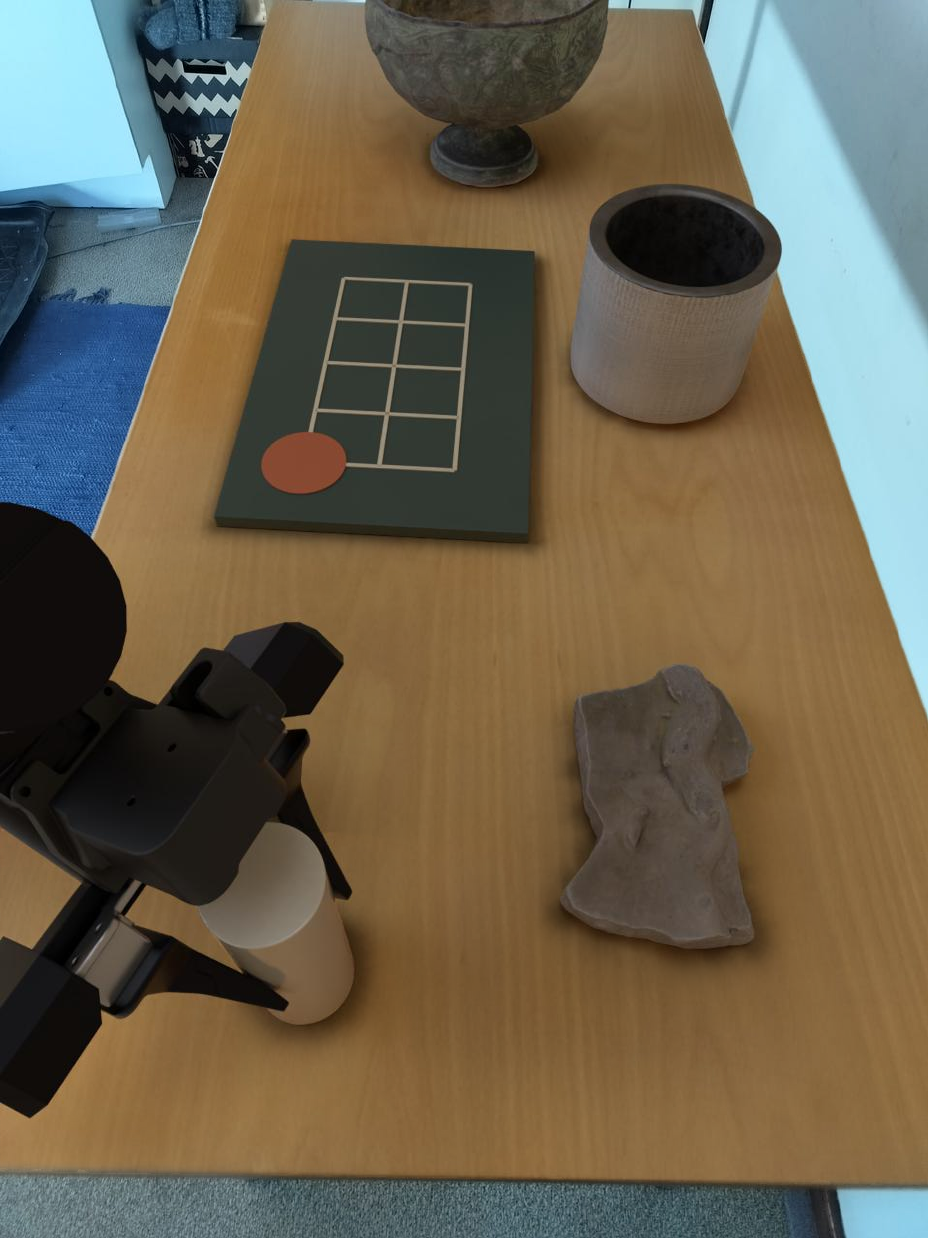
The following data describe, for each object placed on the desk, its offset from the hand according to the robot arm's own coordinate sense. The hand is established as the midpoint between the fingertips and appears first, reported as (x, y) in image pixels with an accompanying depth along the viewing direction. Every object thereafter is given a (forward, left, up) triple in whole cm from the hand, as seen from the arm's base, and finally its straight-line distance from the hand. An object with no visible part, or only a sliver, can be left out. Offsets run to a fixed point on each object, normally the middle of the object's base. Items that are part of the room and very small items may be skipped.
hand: (314, 949), depth 38 cm
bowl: (+4, +74, -7) cm, 74 cm away
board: (-1, +43, -7) cm, 43 cm away
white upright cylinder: (-1, +1, -7) cm, 7 cm away
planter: (+18, +45, -7) cm, 48 cm away
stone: (+16, +10, -7) cm, 20 cm away
